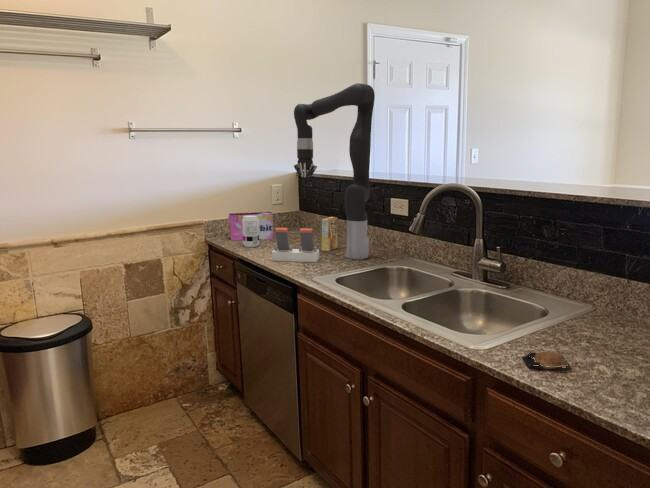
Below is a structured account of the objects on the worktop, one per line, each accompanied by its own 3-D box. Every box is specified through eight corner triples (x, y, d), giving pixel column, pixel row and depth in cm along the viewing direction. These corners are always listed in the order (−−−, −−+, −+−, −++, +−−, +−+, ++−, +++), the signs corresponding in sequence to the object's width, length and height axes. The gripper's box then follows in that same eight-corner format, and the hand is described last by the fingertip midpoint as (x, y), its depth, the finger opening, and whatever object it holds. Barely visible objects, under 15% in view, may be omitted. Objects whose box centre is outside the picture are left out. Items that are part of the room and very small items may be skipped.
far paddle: (289, 249, 222) (287, 227, 216) (289, 250, 221) (286, 229, 215) (278, 248, 223) (275, 227, 217) (277, 250, 221) (275, 229, 215)
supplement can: (239, 246, 248) (238, 216, 245) (249, 243, 255) (248, 214, 252) (253, 248, 245) (252, 218, 241) (262, 245, 252) (261, 215, 249)
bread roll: (562, 359, 123) (564, 345, 122) (577, 375, 115) (579, 360, 114) (518, 358, 124) (520, 344, 123) (530, 373, 115) (531, 359, 115)
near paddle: (314, 249, 220) (312, 228, 215) (313, 251, 219) (311, 230, 213) (302, 249, 221) (300, 228, 215) (301, 251, 220) (300, 230, 214)
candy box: (330, 247, 247) (330, 216, 244) (337, 247, 245) (337, 217, 242) (321, 250, 239) (321, 219, 236) (328, 251, 237) (329, 219, 234)
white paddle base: (319, 258, 223) (319, 245, 222) (316, 262, 217) (316, 249, 215) (275, 257, 226) (275, 244, 225) (272, 260, 219) (271, 247, 218)
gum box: (228, 241, 262) (227, 215, 259) (227, 238, 270) (226, 213, 267) (273, 238, 268) (273, 213, 265) (271, 235, 275) (271, 211, 273)
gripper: (289, 148, 234) (289, 185, 238) (310, 148, 226) (311, 186, 230) (299, 147, 240) (300, 183, 244) (321, 148, 232) (321, 185, 236)
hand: (305, 185), depth 237 cm, fingers closed
